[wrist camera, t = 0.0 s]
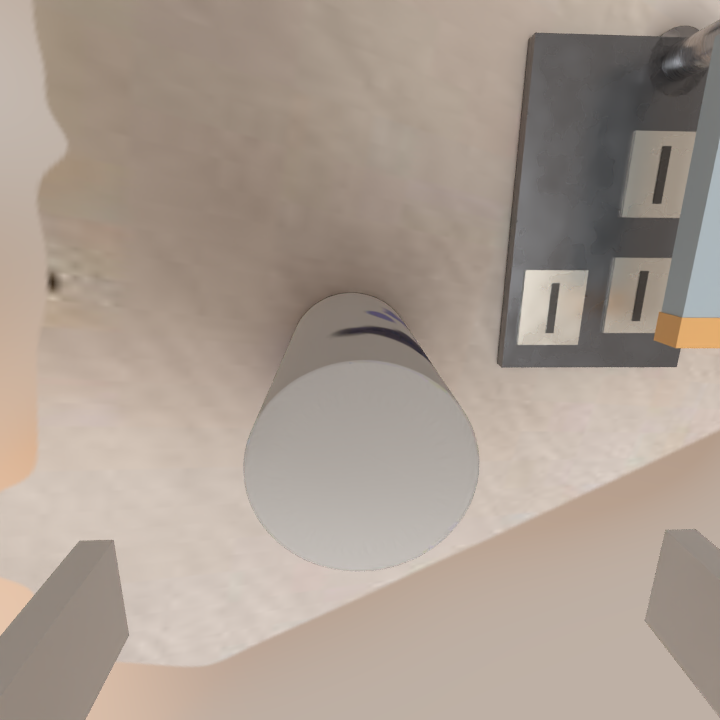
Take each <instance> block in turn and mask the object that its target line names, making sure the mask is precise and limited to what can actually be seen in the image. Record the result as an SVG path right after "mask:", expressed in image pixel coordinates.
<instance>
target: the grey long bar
mask: <svg viewBox="0 0 720 720" xmlns="http://www.w3.org/2000/svg"><path fill="white" fill-rule="evenodd" d="M654 341H657V342H660V343H663V344H665V345H668V346H671V347H674V348H720V34H719V35H717V36H715V39H714V44H713V49H712V55H711V60H710V65H709V70H708V75H707V80H706V85H705V91H704V96H703V101H702V106H701V111H700V116H699V121H698V126H697V132H696V137H695V142H694V147H693V152H692V157H691V162H690V168H689V173H688V178H687V183H686V188H685V193H684V198H683V204H682V209H681V214H680V219H679V224H678V229H677V234H676V240H675V245H674V250H673V255H672V260H671V265H670V270H669V275H668V281H667V286H666V291H665V296H664V301H663V306H662V311H661V312H659V314H658V319H657V325H656V330H655V335H654Z"/></svg>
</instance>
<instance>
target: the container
mask: <svg viewBox="0 0 720 720" xmlns="http://www.w3.org/2000/svg"><path fill="white" fill-rule="evenodd" d="M478 475H479V451H478V445H477V441H476V437H475V434H474V431H473V428H472V426H471V423H470V421H469V419H468V418H467V416H466V414H465V412H464V411H463V409H462V408H461V406H460V405H459V403H458V402H457V400H456V399H455V397H454V396H453V395H452V393H451V392H450V390H449V389H448V387H447V386H446V384H445V383H444V381H443V380H442V378H441V377H440V375H439V374H438V372H437V371H436V370H435V368H434V366H433V365H432V364H431V362H430V361H429V359H428V358H427V356H426V355H425V353H424V352H423V350H422V349H421V347H420V346H419V344H418V343H417V341H416V340H415V338H414V337H413V335H412V334H411V333H410V331H409V330H408V328H407V327H406V325H405V324H404V322H403V321H402V319H401V318H400V316H399V315H398V314H397V313H396V312H395V311H394V310H393V309H392V308H391V307H390V306H389V305H387V304H386V303H384V302H383V301H381V300H379V299H377V298H375V297H372V296H369V295H366V294H361V293H342V294H337V295H333V296H330V297H328V298H325V299H323V300H321V301H320V302H318V303H317V304H315V305H314V306H313V307H311V308H310V309H309V310H308V311H307V312H306V313H305V314H304V316H303V317H302V318H301V320H300V321H299V323H298V325H297V327H296V329H295V331H294V334H293V336H292V338H291V341H290V343H289V345H288V347H287V350H286V352H285V354H284V357H283V359H282V361H281V364H280V366H279V368H278V370H277V373H276V375H275V377H274V380H273V382H272V384H271V387H270V389H269V391H268V393H267V396H266V398H265V400H264V403H263V405H262V407H261V410H260V412H259V414H258V416H257V419H256V421H255V423H254V426H253V428H252V430H251V433H250V435H249V438H248V441H247V445H246V449H245V455H244V482H245V488H246V492H247V496H248V499H249V502H250V504H251V506H252V509H253V511H254V513H255V515H256V516H257V518H258V520H259V521H260V523H261V524H262V526H263V527H264V528H265V529H266V531H267V532H268V533H269V534H270V535H271V536H272V537H273V538H274V539H275V540H276V541H277V542H278V543H279V544H281V545H282V546H283V547H284V548H286V549H287V550H289V551H290V552H292V553H293V554H295V555H297V556H298V557H300V558H302V559H304V560H307V561H309V562H311V563H314V564H317V565H320V566H323V567H327V568H331V569H336V570H343V571H374V570H381V569H386V568H390V567H394V566H398V565H401V564H403V563H406V562H409V561H411V560H413V559H415V558H417V557H419V556H421V555H423V554H425V553H426V552H428V551H429V550H431V549H432V548H434V547H435V546H436V545H438V544H439V543H440V542H441V541H443V540H444V539H445V538H446V537H447V536H448V535H449V534H450V533H451V532H452V531H453V530H454V528H455V527H456V526H457V525H458V523H459V522H460V521H461V519H462V518H463V516H464V515H465V513H466V511H467V509H468V507H469V505H470V503H471V501H472V499H473V496H474V493H475V490H476V486H477V481H478Z"/></svg>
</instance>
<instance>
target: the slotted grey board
mask: <svg viewBox="0 0 720 720" xmlns="http://www.w3.org/2000/svg"><path fill="white" fill-rule="evenodd" d="M662 38H664V39H662ZM662 38H661V37H655V36H622V35H589V34H557V33H535V34H534V35H533V36H532V37H531V38H530V39H529V42H528V52H527V62H526V72H525V83H524V93H523V103H522V113H521V124H520V134H519V144H518V154H517V165H516V175H515V185H514V195H513V206H512V216H511V226H510V236H509V247H508V257H507V267H506V277H505V288H504V298H503V308H502V318H501V329H500V339H499V349H498V359H497V364H499V365H500V366H501V367H677V363H678V358H679V354H680V349H681V348H674V347H671V346H668V345H665V344H663V343H660V342H657V341H654V335H655V330H656V325H657V319H658V314H659V312H661V311H662V306H663V301H664V296H665V291H666V286H667V281H668V275H669V270H670V265H671V260H672V255H673V250H674V245H675V240H676V234H677V229H678V224H679V219H680V214H681V209H682V204H683V198H684V193H685V188H686V183H687V178H688V173H689V168H690V162H691V157H692V152H693V147H694V142H695V137H696V132H697V126H698V121H699V116H700V111H701V106H702V101H703V96H704V91H705V85H706V80H707V75H708V70H709V69H706V70H705V71H702V72H703V73H704V72H705V73H704V74H705V75H704V74H702V72H699V73H697V75H699V76H698V77H697V75H696V74H695V75H693V76H692V77H691V76H690V77H691V78H690V77H689V78H686V80H685V79H684V80H685V81H684V80H681V81H672V80H669V79H668V78H667V77H666V76H665V74H664V72H662V70H663V66H661V65H663V62H662V61H663V59H664V56H665V54H666V53H665V52H667V51H668V50H667V49H669V48H670V47H671V46H673V45H674V43H675V44H676V41H677V43H678V42H679V41H680V40H681V41H682V40H684V39H685V38H687V37H683V39H682V37H676V39H674V38H675V37H673V38H672V37H662ZM666 38H667V39H666ZM679 38H680V40H679ZM659 39H660V40H659ZM661 39H662V40H661ZM665 39H666V40H665ZM673 39H674V40H673ZM663 40H665V42H664V41H663ZM672 40H673V41H672ZM675 40H676V41H675ZM659 41H660V42H659ZM662 41H663V42H664V43H666V44H664V43H662ZM668 41H670V42H669V43H668ZM658 42H659V44H658ZM656 44H657V46H655V45H656ZM663 44H664V45H663ZM668 45H669V46H668ZM658 46H659V47H658ZM661 46H663V47H662V48H661ZM665 46H666V47H665ZM667 46H668V47H667ZM657 47H658V48H657ZM660 48H661V49H662V50H660ZM652 50H654V51H655V50H656V51H655V52H654V51H652ZM664 50H665V51H664ZM666 50H667V51H666ZM658 51H659V52H660V51H661V52H662V53H661V55H660V56H659V54H658V53H659V52H658ZM663 51H664V52H663ZM651 52H652V53H651ZM653 52H654V53H653ZM656 52H657V53H656ZM663 53H665V54H663ZM652 54H654V55H655V56H654V55H652ZM662 55H664V56H662ZM653 57H654V58H653ZM655 57H656V58H655ZM657 57H658V58H657ZM652 59H653V60H652ZM656 59H657V60H656ZM649 60H652V62H651V61H649ZM654 61H655V62H654ZM658 61H659V62H658ZM651 63H652V64H651ZM661 63H662V64H661ZM650 64H651V65H650ZM655 64H656V66H655V67H654V65H655ZM659 64H660V65H659ZM657 65H658V66H657ZM651 66H652V67H651ZM650 67H651V68H650ZM657 68H658V69H657ZM650 69H651V70H652V71H651V70H650ZM659 69H660V70H659ZM706 71H707V72H706ZM649 73H650V74H649ZM654 73H655V74H654ZM659 73H660V74H659ZM662 73H663V74H662ZM700 73H701V74H700ZM652 74H654V75H652ZM658 74H659V75H658ZM650 75H651V77H650ZM695 76H696V77H695ZM701 76H704V77H701ZM652 77H653V79H652ZM658 77H659V78H660V79H661V80H660V79H659V78H658ZM663 77H664V78H665V79H664V78H663ZM693 77H694V78H693ZM700 77H701V78H700ZM657 78H658V79H657ZM699 78H700V79H699ZM667 79H668V80H667ZM687 79H690V80H691V79H692V81H690V80H689V81H688V82H687ZM656 80H657V82H656ZM664 80H665V82H664ZM693 80H696V81H693ZM697 80H698V81H697ZM667 81H668V82H667ZM669 81H670V82H669ZM682 81H683V82H682ZM700 81H701V82H700ZM654 82H655V83H654ZM692 82H693V83H694V82H695V85H696V86H695V85H693V84H692ZM697 82H698V83H697ZM659 83H660V85H659ZM661 83H662V86H661ZM666 83H667V84H666ZM668 83H669V84H668ZM677 83H678V84H677ZM679 83H681V84H684V83H686V84H684V86H685V87H684V86H683V85H681V84H679ZM664 84H665V85H664ZM670 84H671V85H670ZM687 84H688V85H687ZM689 84H690V85H689ZM697 85H698V86H697ZM656 86H657V87H658V88H659V87H661V88H659V90H658V88H657V87H656ZM672 86H673V87H672ZM678 86H679V87H680V88H677V87H678ZM689 86H690V87H691V88H688V87H689ZM694 86H695V87H694ZM666 87H667V89H668V90H667V89H666ZM670 87H671V88H670ZM674 87H675V88H676V89H675V88H674ZM682 87H684V88H687V89H684V88H683V89H681V88H682ZM692 87H693V88H692ZM663 88H665V89H663ZM669 88H670V89H669ZM661 89H662V90H663V92H664V93H666V95H663V94H661V93H663V92H662V90H661ZM672 89H673V90H672ZM677 89H678V90H677ZM671 90H672V91H671ZM676 90H677V91H676ZM688 90H689V91H688ZM666 91H668V92H669V91H670V92H669V93H670V94H671V96H672V95H673V96H674V94H675V95H676V94H677V93H678V92H679V91H680V92H681V91H682V93H680V92H679V93H678V95H676V96H675V97H673V96H672V97H669V93H668V92H666ZM683 91H685V93H684V92H683ZM686 92H688V93H687V94H686ZM677 96H678V97H677Z"/></svg>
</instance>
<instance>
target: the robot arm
mask: <svg viewBox="0 0 720 720" xmlns="http://www.w3.org/2000/svg"><path fill="white" fill-rule="evenodd" d="M645 622H646V623H647V624H648V626H649V627H650V628H651V630H652V631H653V632H654V633H655V635H656V636H657V637H658V639H659V640H660V641H661V642H662V644H663V645H664V646H665V648H666V649H667V650H668V652H669V653H670V654H671V655H672V657H673V658H674V659H675V661H676V662H677V663H678V664H679V666H680V667H681V668H682V670H683V671H684V672H685V673H686V675H687V676H688V677H689V679H690V680H691V681H692V682H693V684H694V685H695V686H696V688H697V689H698V690H699V691H700V693H701V694H702V695H703V696H704V698H705V699H706V700H707V702H708V703H709V704H710V706H711V707H712V708H713V709H714V711H715V712H716V713H717V715H718V716H719V717H720V549H719V548H717V547H716V546H715V545H714V544H713V543H711V542H710V541H709V540H708V539H707V538H705V537H704V536H703V535H702V534H701V533H700V532H698V531H697V530H696V529H688V530H687V529H686V530H685V529H684V530H665V534H664V539H663V543H662V547H661V551H660V556H659V561H658V565H657V569H656V573H655V578H654V582H653V587H652V591H651V595H650V600H649V605H648V609H647V613H646V617H645ZM128 636H129V632H128V626H127V619H126V613H125V607H124V601H123V595H122V589H121V582H120V576H119V570H118V564H117V558H116V552H115V545H114V540H91V541H79V542H78V543H77V544H76V546H75V547H74V548H73V549H72V550H71V552H70V553H69V554H68V555H67V556H66V558H65V559H64V560H63V561H62V562H61V564H60V565H59V566H58V567H57V568H56V570H55V571H54V572H53V573H52V574H51V576H50V577H49V578H48V579H47V581H46V582H45V583H44V584H43V585H42V587H41V588H40V589H39V590H38V591H37V593H36V594H35V595H34V596H33V597H32V599H31V600H30V601H29V602H28V603H27V605H26V606H25V607H24V608H23V609H22V611H21V612H20V613H19V614H18V615H17V617H16V618H15V619H14V620H13V621H12V623H11V624H10V625H9V626H8V628H7V629H6V630H5V631H4V632H3V634H2V635H1V636H0V720H85V719H86V717H87V715H88V713H89V712H90V710H91V708H92V706H93V704H94V702H95V700H96V698H97V696H98V694H99V692H100V690H101V688H102V686H103V684H104V683H105V680H106V679H107V676H108V675H109V673H110V671H111V669H112V667H113V665H114V663H115V661H116V659H117V657H118V655H119V654H120V652H121V650H122V648H123V646H124V644H125V642H126V640H127V638H128Z"/></svg>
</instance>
